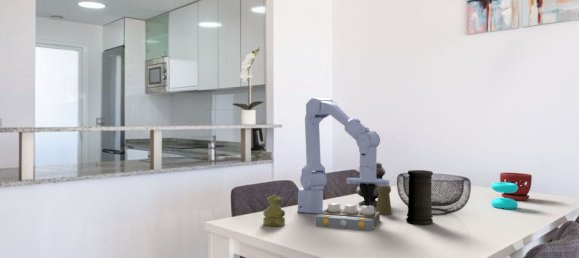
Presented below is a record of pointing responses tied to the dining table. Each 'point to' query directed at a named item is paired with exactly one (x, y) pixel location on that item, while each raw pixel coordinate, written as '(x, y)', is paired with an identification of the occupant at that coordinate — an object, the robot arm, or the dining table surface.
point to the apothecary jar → (379, 175)
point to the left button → (334, 207)
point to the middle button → (350, 209)
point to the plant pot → (522, 190)
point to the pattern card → (345, 222)
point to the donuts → (504, 202)
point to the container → (419, 197)
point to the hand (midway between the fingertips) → (367, 205)
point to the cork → (383, 200)
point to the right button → (367, 210)
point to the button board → (355, 215)
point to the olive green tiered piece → (274, 213)
